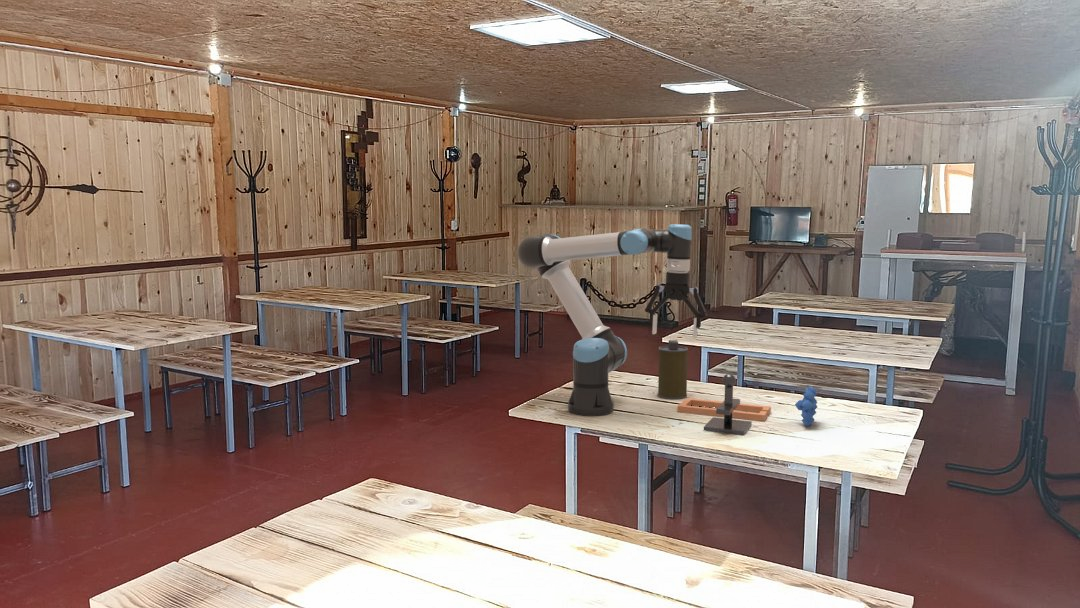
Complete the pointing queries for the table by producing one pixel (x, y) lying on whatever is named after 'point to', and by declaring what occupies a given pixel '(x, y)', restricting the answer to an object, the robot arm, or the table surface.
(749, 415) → the link
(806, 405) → the grapes
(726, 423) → the stand
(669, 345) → the canister
